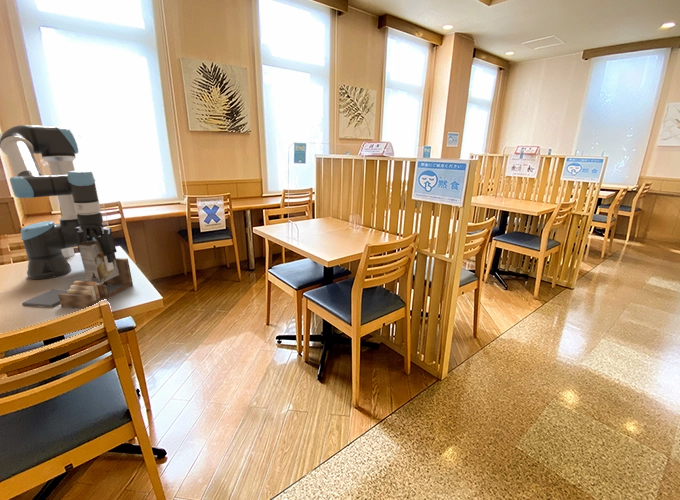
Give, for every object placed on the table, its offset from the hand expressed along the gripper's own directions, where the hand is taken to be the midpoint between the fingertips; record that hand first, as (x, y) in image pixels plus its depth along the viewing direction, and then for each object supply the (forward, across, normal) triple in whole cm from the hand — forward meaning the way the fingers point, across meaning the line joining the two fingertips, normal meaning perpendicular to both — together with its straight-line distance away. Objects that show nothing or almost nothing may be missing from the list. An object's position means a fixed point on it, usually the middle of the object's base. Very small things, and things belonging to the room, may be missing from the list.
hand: (101, 269), depth 129 cm
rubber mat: (+10, -15, -9) cm, 20 cm away
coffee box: (+4, 0, 0) cm, 4 cm away
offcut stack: (+10, 0, -10) cm, 14 cm away
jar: (+11, -55, +36) cm, 66 cm away
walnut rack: (+10, 0, -4) cm, 10 cm away
